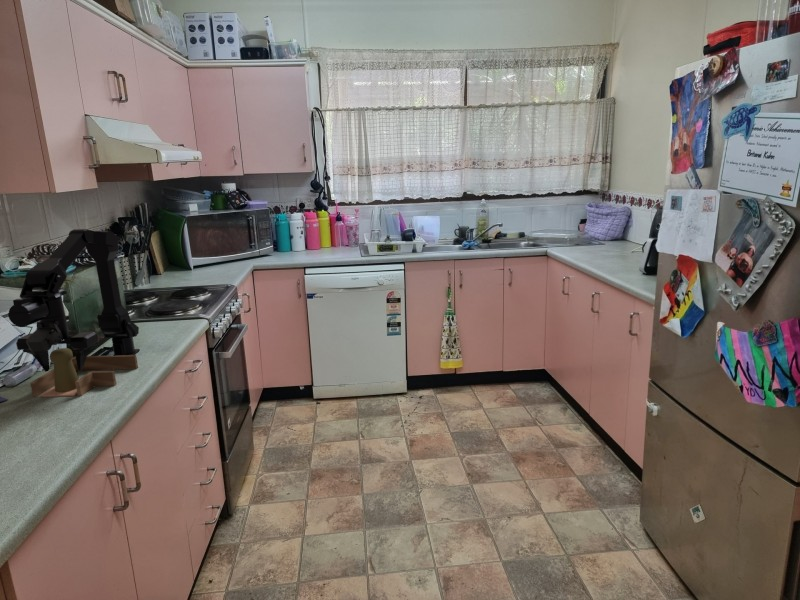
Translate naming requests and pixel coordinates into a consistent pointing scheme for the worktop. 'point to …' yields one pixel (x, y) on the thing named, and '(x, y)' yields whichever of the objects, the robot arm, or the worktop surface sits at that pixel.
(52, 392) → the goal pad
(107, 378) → the bent channel
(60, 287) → the robot arm
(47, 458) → the worktop surface
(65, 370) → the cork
